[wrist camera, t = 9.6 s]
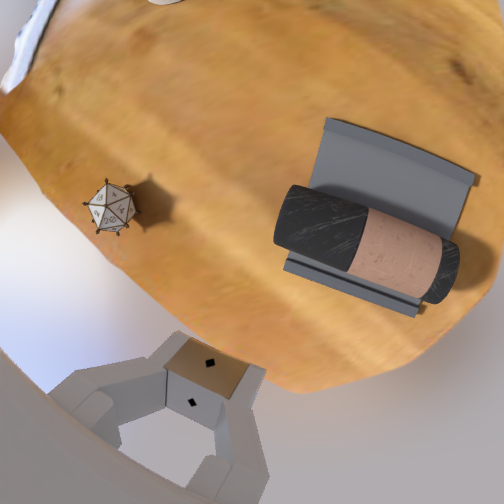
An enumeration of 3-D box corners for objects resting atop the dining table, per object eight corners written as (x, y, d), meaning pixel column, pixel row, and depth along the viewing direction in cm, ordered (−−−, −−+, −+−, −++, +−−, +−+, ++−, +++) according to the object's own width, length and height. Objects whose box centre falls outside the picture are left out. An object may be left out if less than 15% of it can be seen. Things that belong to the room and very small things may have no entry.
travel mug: (271, 225, 30) (456, 294, 26) (297, 168, 32) (462, 231, 28) (272, 256, 37) (424, 312, 33) (294, 205, 39) (434, 257, 35)
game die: (147, 189, 50) (140, 179, 40) (138, 239, 50) (130, 240, 40) (98, 182, 47) (82, 171, 38) (90, 231, 48) (71, 231, 38)
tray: (327, 118, 33) (326, 117, 32) (472, 173, 29) (475, 174, 28) (285, 266, 42) (282, 269, 40) (413, 313, 37) (414, 318, 36)
